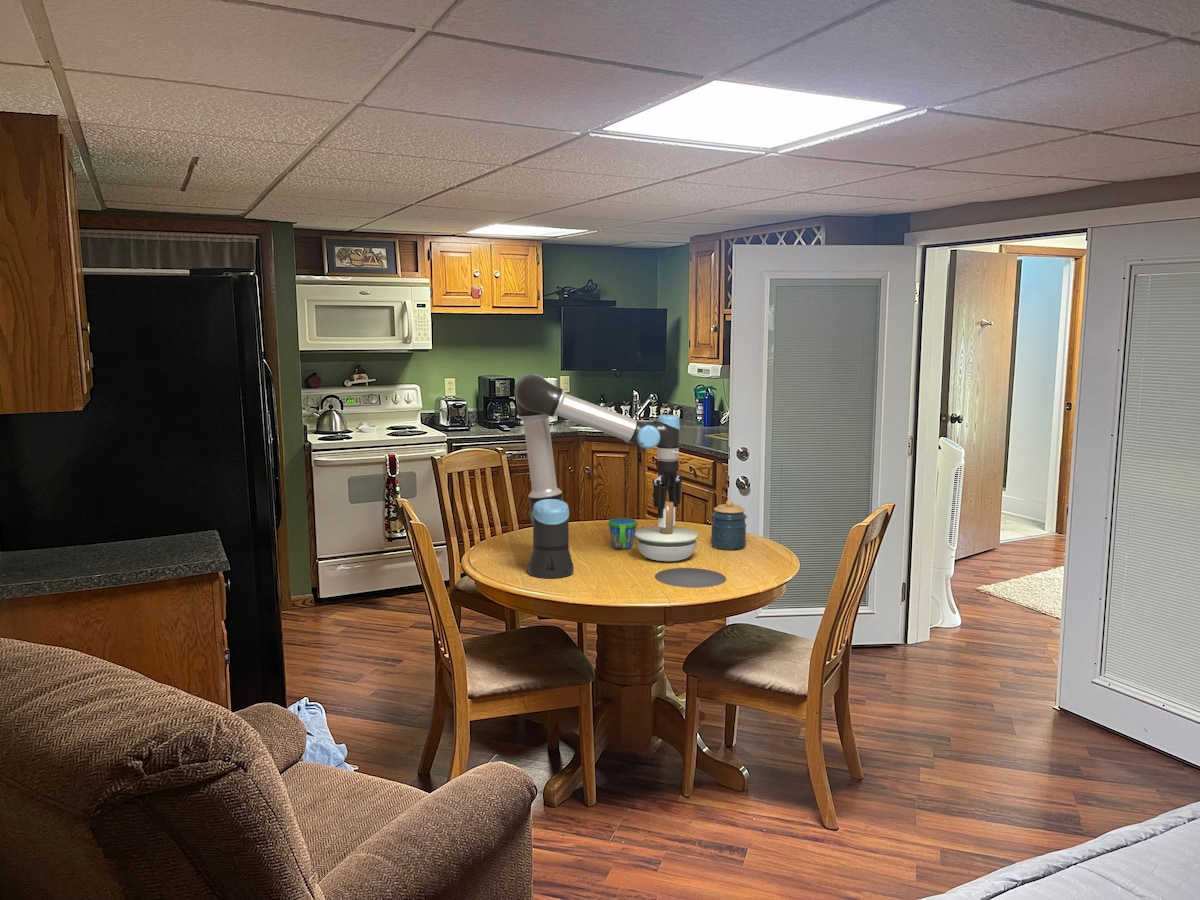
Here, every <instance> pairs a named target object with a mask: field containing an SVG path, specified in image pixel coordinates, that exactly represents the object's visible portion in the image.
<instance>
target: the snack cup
mask: <svg viewBox="0 0 1200 900" xmlns="http://www.w3.org/2000/svg"><path fill="white" fill-rule="evenodd" d="M607 524H608V526H609V534H610V541H611V547H612V548H613V549H614V550H615V549H617V550H620V549H622V550H623V549H625V550H630V549H632V548H633V545H634V540H635V531H636V527H637V526H638V521H637V520H636V519H634V518H630V517H629V518H627V517H615V518H610V519H608V521H607Z"/></svg>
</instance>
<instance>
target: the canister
mask: <svg viewBox="0 0 1200 900" xmlns="http://www.w3.org/2000/svg"><path fill="white" fill-rule="evenodd" d="M713 510H714V512H713V513H711V517H712V522H711V523H710V525H711V539H710V544H711V545H712V546H713V547H712V546H711V547H712V548H714V547H716V548H715V549H717V548H720V549H719V550H721V549H740V550H742V549H741V548H743V549H745V548H746V544H747V543H746V542H747V541H746V540H747V539H746V537H747V523H746V519H747V517H748V515H746V514H745V513H744V512H745V511H746V510H745V508H743V507H742V506H741V505H739V504H738V505H737V504H734V502H733V501H732V500H731V499H727V500H726V502H725V503H724V504H722V503H721V504H718V505H717V506H715V507H714V508H713ZM744 547H745V548H744Z"/></svg>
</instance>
